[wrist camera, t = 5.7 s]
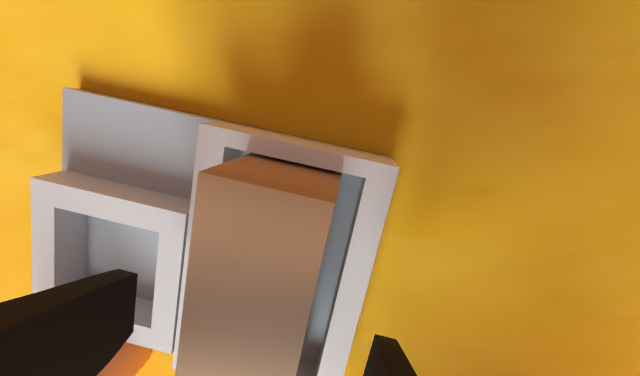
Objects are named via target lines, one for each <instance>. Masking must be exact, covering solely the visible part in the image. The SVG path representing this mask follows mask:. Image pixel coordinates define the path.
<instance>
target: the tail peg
mask: <svg viewBox="0 0 640 376" xmlns="http://www.w3.org/2000/svg"><path fill="white" fill-rule="evenodd" d="M151 350H152V349H150V348H146V347H142V346H139V345H135V344H131V343H127V342H125V343H124V345H123V346H122V347H121V349H120V350H119V351H118V352H117V354H116V355H115V356H114V357H113V358H112V360H111V361H110V362H109V363H108V364H107V366H106V367H105V368H104V369H103V370H102V371H101V372H100V373H99V374H98V375H97V376H135V375H136V374H137V372H138V371H139V370H140V369H141V368H142V366H143V365H144V364H145V363H146V362H147V360H148V359H149V357H150V355H151Z"/></svg>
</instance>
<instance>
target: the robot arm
mask: <svg viewBox="0 0 640 376" xmlns="http://www.w3.org/2000/svg"><path fill="white" fill-rule="evenodd" d="M137 278H138V274H137V273H133V272H129V271H126V270H122V269H116V270H111V271H107V272H103V273H100V274H96V275H93V276H89V277H86V278H83V279H79V280H76V281H73V282H69V283H66V284H63V285H59V286H56V287H53V288H50V289H46V290H43V291H40V292H36V293H33V294H30V295H26V296H23V297H19V298H15V299H12V300H8V301H5V302H1V303H0V376H97V375H98V374H99V373H100V372H101V371H102V370H103V369H104V368H105V367H106V366H107V364H108V363H109V362H110V361H111V360H112V358H113V357H114V356H115V355H116V354H117V352H118V351H119V350H120V349H121V347H122V346H123V345H124V343H125V342H126V341H127V340H128V338H129V337H130V336H131V334H132V333H133V331H134V318H135V304H136V291H137ZM363 376H417V375H416V373H415V371H414V369H413V368H412V366H411V364H410V362H409V361H408V359H407V357H406V355H405V354H404V352H403V350H402V348H401V347H400V345H399V343H398V342H397V340H396V339H392V338H388V337H384V336H380V335H376V334H375V336H374V340H373V343H372V347H371V350H370V354H369V357H368V361H367V364H366V368H365V371H364V375H363Z"/></svg>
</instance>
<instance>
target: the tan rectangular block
mask: <svg viewBox="0 0 640 376" xmlns="http://www.w3.org/2000/svg"><path fill="white" fill-rule="evenodd" d="M341 176H342V173H341V172H336V171H332V170H327V169H323V168H318V167H314V166H309V165H305V164H300V163H296V162H292V161H287V160H283V159H278V158H274V157H269V156H265V155H260V154H256V153H249V154H246V155H243V156H241V157H238V158H235V159H232V160H230V161H227V162H224V163H221V164H218V165H216V166H213V167H210V168H207V169H205V170H202V171H199V172H198V178H197V187H196V195H195V204H194V213H193V222H192V231H191V240H190V249H189V257H188V266H187V275H186V284H185V293H184V302H183V310H182V319H181V328H180V337H179V346H178V355H177V363H176V372H175V376H296V374H297V369H298V365H299V361H300V356H301V352H302V348H303V343H304V339H305V334H306V330H307V326H308V321H309V317H310V312H311V308H312V304H313V299H314V295H315V290H316V286H317V282H318V277H319V273H320V268H321V264H322V260H323V255H324V251H325V246H326V242H327V238H328V233H329V229H330V224H331V220H332V216H333V211H334V207H335V202H336V198H337V194H338V189H339V185H340V180H341Z"/></svg>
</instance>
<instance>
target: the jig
mask: <svg viewBox="0 0 640 376" xmlns="http://www.w3.org/2000/svg"><path fill="white" fill-rule="evenodd" d="M249 153H256V154H260V155H265V156H269V157H274V158H278V159H283V160H287V161H292V162H296V163H300V164H305V165H309V166H314V167H318V168H323V169H327V170H332V171H336V172H341V173H342V176H341V180H340V185H339V189H338V194H337V198H336V202H335V207H334V211H333V216H332V220H331V224H330V229H329V233H328V238H327V242H326V246H325V251H324V255H323V260H322V264H321V268H320V273H319V277H318V282H317V286H316V290H315V295H314V299H313V304H312V308H311V312H310V317H309V321H308V326H307V330H306V334H305V339H304V343H303V348H302V352H301V356H300V361H299V365H298V369H297V374H296V376H343V375H344V372H345V368H346V364H347V361H348V357H349V353H350V350H351V346H352V342H353V339H354V335H355V331H356V328H357V324H358V320H359V317H360V313H361V309H362V306H363V302H364V298H365V295H366V291H367V287H368V284H369V280H370V276H371V272H372V269H373V265H374V261H375V258H376V254H377V250H378V247H379V243H380V239H381V236H382V232H383V228H384V225H385V221H386V217H387V214H388V210H389V206H390V203H391V199H392V195H393V192H394V188H395V184H396V180H397V177H398V173H399V169H400V167H399V166H398V164H397V163H396V162H395V161H394V160H393V158H392V157H388V156H383V155H379V154H374V153H370V152H365V151H360V150H356V149H351V148H347V147H342V146H338V145H333V144H328V143H324V142H319V141H315V140H310V139H306V138H301V137H296V136H292V135H287V134H283V133H278V132H274V131H269V130H264V129H260V128H255V127H251V126H246V125H242V124H237V123H232V122H228V121H223V120H219V119H214V118H210V117H205V116H200V115H196V114H191V113H187V112H182V111H178V110H173V109H168V108H164V107H159V106H155V105H150V104H146V103H141V102H136V101H132V100H127V99H123V98H118V97H114V96H109V95H104V94H100V93H95V92H91V91H86V90H82V89H74V88H63V154H62V171H61V172H56V173H50V174H45V175H40V176H35V177H30V184H31V235H32V286H33V293H36V292H40V291H43V290H46V289H50V288H53V287H56V286H59V285H63V284H66V283H69V282H73V281H76V280H79V279H83V278H86V277H89V276H93V275H96V274H100V273H103V272H107V271H111V270H116V269H122V270H126V271H129V272H133V273H137V274H138V278H137V291H136V304H135V318H134V331H133V333H132V334H131V336H130V337H129V338H128V340H127V341H126V342H127V343H131V344H135V345H139V346H142V347H146V348H150V349H154V350H157V351H161V352H165V353H169V354H172V353H173V351H174V356H173V365H172V369H176V363H177V355H178V346H179V337H180V328H181V319H182V310H183V302H184V293H185V284H186V275H187V266H188V257H189V249H190V240H191V231H192V222H193V213H194V204H195V195H196V187H197V178H198V172H199V171H202V170H205V169H207V168H210V167H213V166H216V165H218V164H221V163H224V162H227V161H230V160H232V159H235V158H238V157H241V156H243V155H246V154H249Z"/></svg>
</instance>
